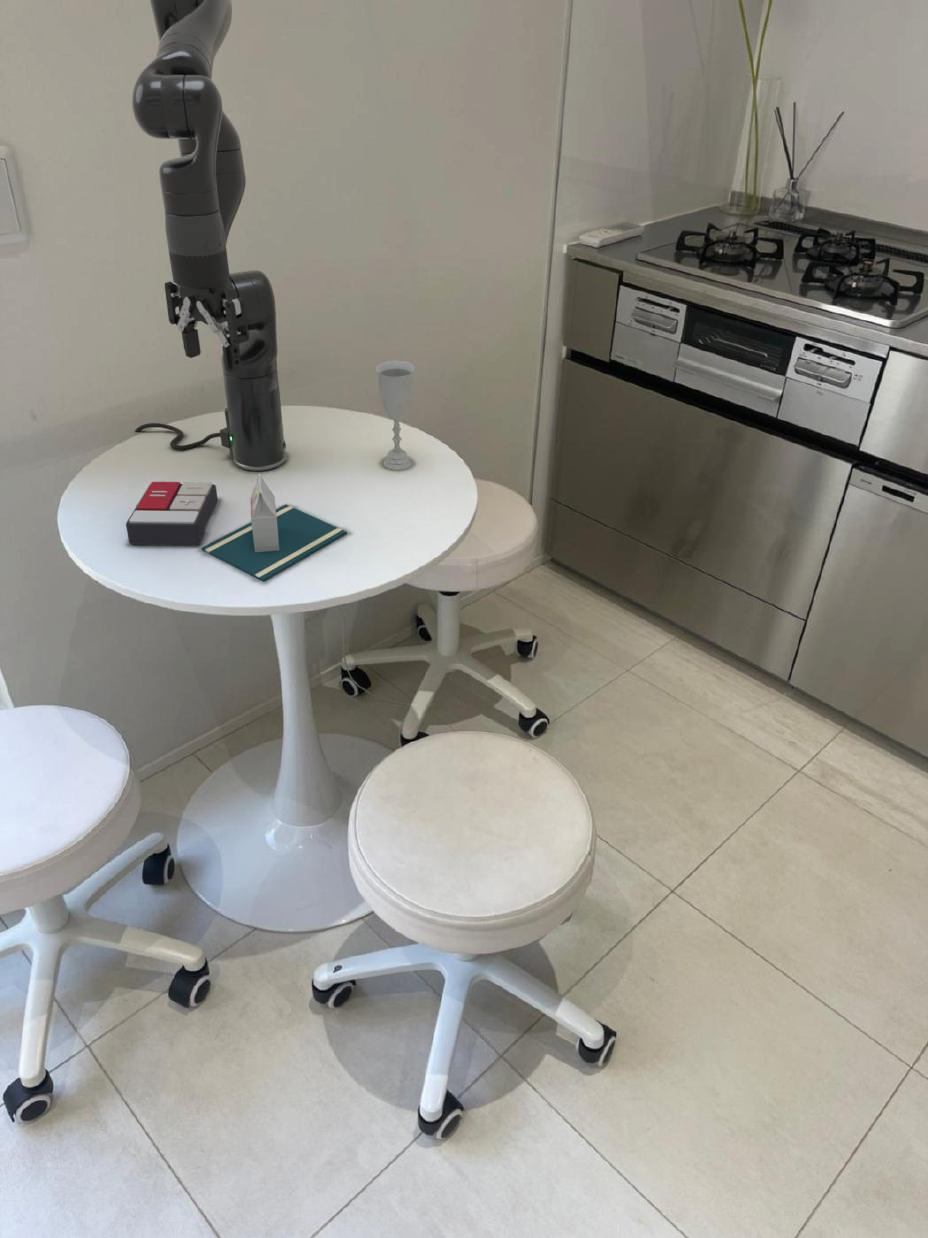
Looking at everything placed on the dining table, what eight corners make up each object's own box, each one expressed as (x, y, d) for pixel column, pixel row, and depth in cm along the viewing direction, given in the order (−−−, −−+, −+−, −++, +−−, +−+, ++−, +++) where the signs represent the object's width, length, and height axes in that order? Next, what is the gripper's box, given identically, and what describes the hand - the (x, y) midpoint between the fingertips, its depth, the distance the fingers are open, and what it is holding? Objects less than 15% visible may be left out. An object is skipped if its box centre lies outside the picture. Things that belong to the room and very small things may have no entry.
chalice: (410, 474, 171) (409, 378, 160) (373, 470, 172) (370, 374, 161) (420, 456, 177) (419, 362, 166) (384, 452, 178) (382, 358, 167)
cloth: (201, 549, 149) (201, 547, 149) (285, 506, 161) (285, 503, 160) (263, 581, 142) (263, 579, 142) (347, 533, 154) (346, 531, 154)
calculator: (215, 479, 160) (195, 520, 147) (218, 503, 162) (199, 545, 150) (149, 478, 160) (124, 519, 147) (153, 502, 162) (128, 544, 149)
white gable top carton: (277, 528, 154) (271, 472, 148) (279, 550, 149) (273, 493, 143) (254, 530, 153) (247, 474, 147) (255, 552, 148) (248, 495, 142)
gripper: (254, 249, 126) (266, 367, 136) (184, 230, 133) (200, 344, 143) (210, 261, 122) (226, 383, 131) (140, 241, 128) (159, 358, 138)
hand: (213, 362), depth 137 cm, fingers open, 8 cm apart
